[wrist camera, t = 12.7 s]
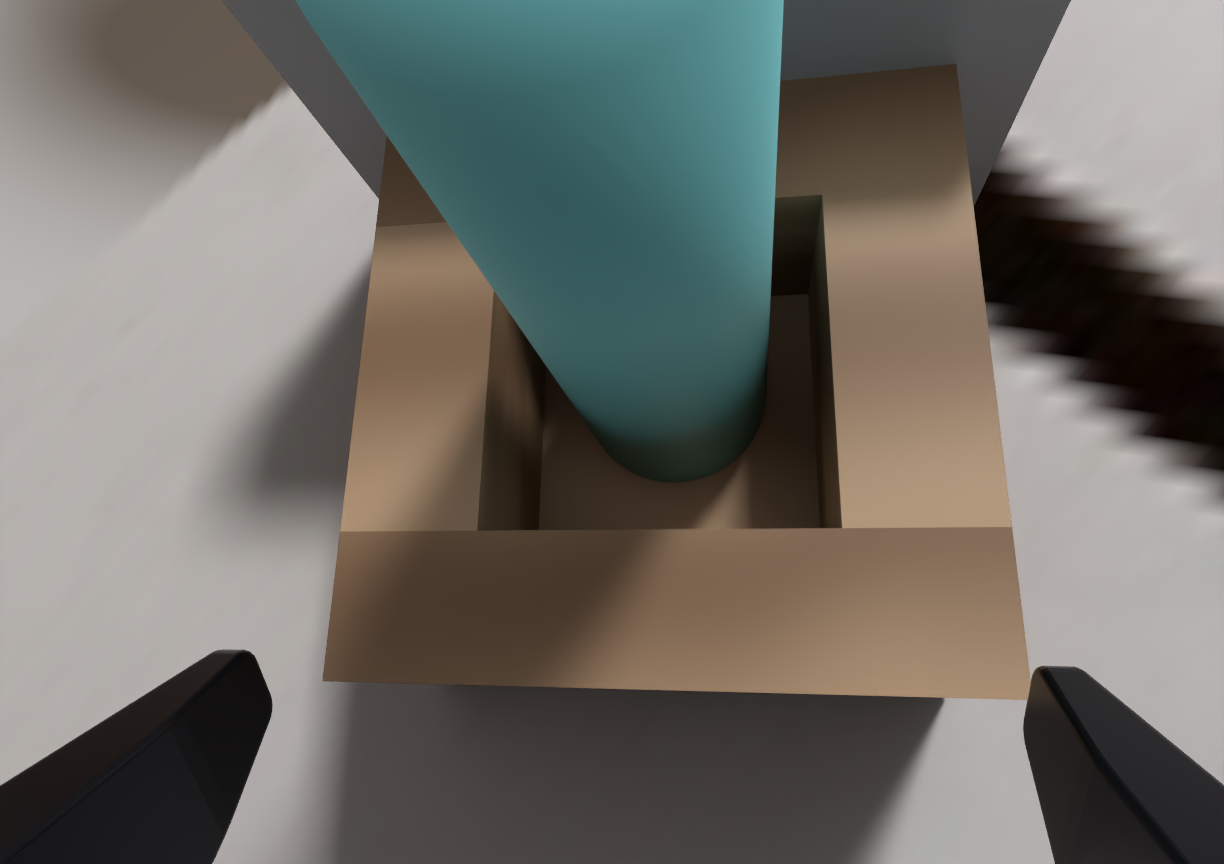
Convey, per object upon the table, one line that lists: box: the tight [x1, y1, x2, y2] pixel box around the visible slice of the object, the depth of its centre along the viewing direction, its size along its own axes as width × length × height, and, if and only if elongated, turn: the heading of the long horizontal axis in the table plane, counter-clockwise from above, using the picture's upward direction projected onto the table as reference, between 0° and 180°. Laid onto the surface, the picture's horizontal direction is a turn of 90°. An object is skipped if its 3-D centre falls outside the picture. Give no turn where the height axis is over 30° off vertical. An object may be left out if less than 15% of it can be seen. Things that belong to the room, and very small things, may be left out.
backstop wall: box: [222, 0, 1071, 207], centre depth 16 cm, size 2×14×9 cm, turn 89°
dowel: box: [296, 0, 784, 483], centre depth 12 cm, size 4×4×12 cm
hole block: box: [323, 64, 1031, 700], centre depth 16 cm, size 11×11×5 cm
